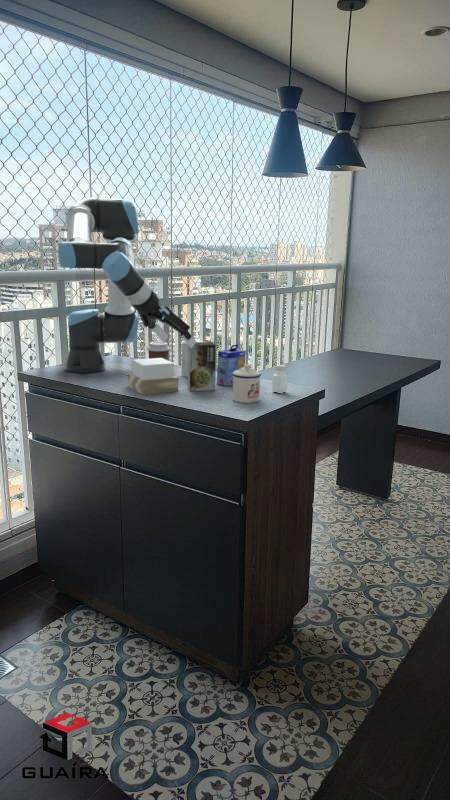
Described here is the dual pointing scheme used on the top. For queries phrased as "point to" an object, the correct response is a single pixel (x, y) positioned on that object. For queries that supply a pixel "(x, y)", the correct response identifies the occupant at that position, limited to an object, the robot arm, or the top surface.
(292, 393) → the top surface
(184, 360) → the small box
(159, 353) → the coffee cup
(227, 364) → the blue upright box
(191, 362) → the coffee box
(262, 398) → the top surface
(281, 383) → the pepper shaker
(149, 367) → the tower top
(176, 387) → the tower base
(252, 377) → the teacup with lid
